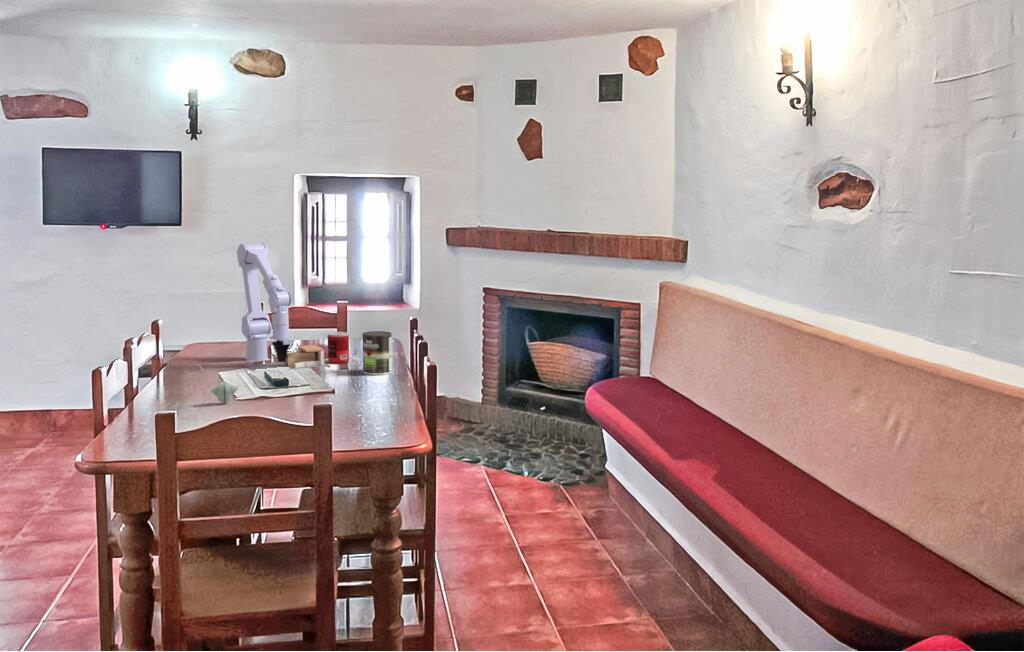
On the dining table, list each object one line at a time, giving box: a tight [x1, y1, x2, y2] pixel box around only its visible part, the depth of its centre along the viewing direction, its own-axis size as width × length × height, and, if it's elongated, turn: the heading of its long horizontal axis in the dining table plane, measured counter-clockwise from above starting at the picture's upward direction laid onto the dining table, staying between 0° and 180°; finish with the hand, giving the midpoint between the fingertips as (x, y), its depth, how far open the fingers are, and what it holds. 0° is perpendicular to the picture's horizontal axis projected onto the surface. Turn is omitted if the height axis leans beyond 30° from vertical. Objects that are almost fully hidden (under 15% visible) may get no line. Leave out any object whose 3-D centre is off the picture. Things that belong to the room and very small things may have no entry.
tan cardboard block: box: [285, 351, 315, 367], centre depth 338 cm, size 4×10×4 cm, turn 119°
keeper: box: [245, 344, 331, 371], centre depth 336 cm, size 14×27×7 cm, turn 119°
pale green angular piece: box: [210, 381, 239, 405], centre depth 279 cm, size 8×4×7 cm, turn 109°
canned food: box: [327, 331, 350, 365], centre depth 346 cm, size 8×8×11 cm
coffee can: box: [361, 330, 393, 376], centre depth 327 cm, size 10×10×14 cm
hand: (281, 361), depth 335 cm, fingers closed, pressing on tan cardboard block
